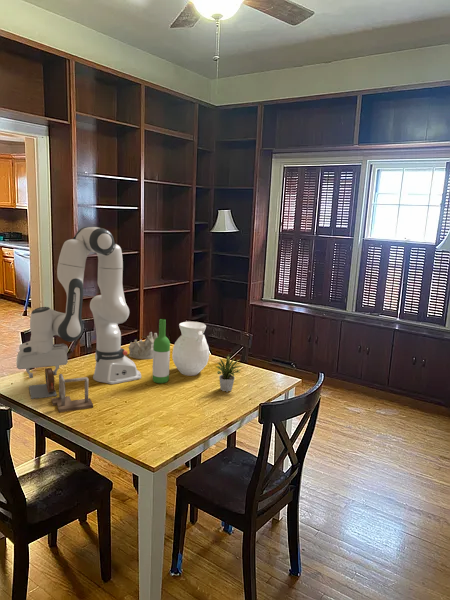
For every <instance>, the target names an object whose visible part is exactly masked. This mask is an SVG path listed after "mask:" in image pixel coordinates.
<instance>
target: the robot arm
mask: <svg viewBox="0 0 450 600" xmlns="http://www.w3.org/2000/svg"><path fill="white" fill-rule="evenodd" d="M91 253H96V256H97V286H98V287H99V290H100V294H99V295H95V296H93V298H92V299H91V300H90V302H89V309H90V311H91V314H92V317H93V322H94V327H95V331H96V332H95V333H96V348H95V354H94V357H95V358H94V359H95V367H94V373H93V376H92V379H93V380H94V381H96V382H99V383H106V384H110V385H115V384H121V383H127V382H130V381H131V382H132V381H137V380H141V378H142V373H141V371H140V370H138V369H137V366H136V363H135V362H134V361H133V360H132V359H130V358H129V356H127V355H128V354H129V353H128V351H127V350H126V349H124V348H123V347H122V345H121V344H122V333H121V330H120V327H119V326H118V325H119V324H123V323H125V322H126V321H127V319H128V318H129V316H130V308H129V306H128V305H127V303H126V298H125V293H124V292H125V291H124V286H123V273H124V272H123V271H124V261H123V260H124V259H123V251H122V248H121V246H120V245H119V244H117V243H116V242H115V239H114V235H113V234H112V233H111V231H109V230H108V229H106V228H103V227H98V226H84V227H82V228H80V229H78V231H77V232H76V233H75V235H74V236H73V238H71V239H67V240H65V241H64V243H63V244H62V247H61V250H60V253H59V257H58V261H57V262H58V263H57V268H56V270H57V271H56V272H57V273H56V275H57V276H56V277H57V280H58V281H59V283H60V284H61V286H62V287H63V289H64V291H65V293H66V303H65V312H60V311H56V310H55V309H52V308H50V307H49V306H42V307H41V306H40V307H37V308H35V309H33V310H32V311H31V313H30V319H29V329H30V330H29V331H30V333H31V335H30V340H29V341H26V342H24V343H20V344H19V345H18V346H19V347H18V348H19V350H18V352H17V356H16V368H17V369H18V370H25V371H26V373H27V374H28V378H29V379H33V378H34V373H33V372H30V369H37V368H49V367H55V368H54V370H52V371H53V374H54V376H57V375H58V374H57V371H58V370H59V369H60V366H64V365H65V366H66V365H67V364H68V362H69V361H68V354H67V353H68V351H69V348H68V345H67V344H65V343H55V344H54V336H58V337H59V338H61V339H62V340H63V341H65V342H68V343H69V342H71V343H72V342H75V341H77V340H78V339H80V338H81V336H82V335H83V333H84V323H83V319H82V313H83V300H84V277H85V269H86V262H87V258H88V256H89V254H91Z"/></svg>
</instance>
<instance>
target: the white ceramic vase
mask: <svg viewBox="0 0 450 600" xmlns="http://www.w3.org/2000/svg"><path fill="white" fill-rule="evenodd" d="M178 326H179V329H180V332H181V335H180V336H179V337H178V338H177V339H176V341H175V342H174V345H173V348H172V354H171V355H172V361H173V363H174V365H175V368H176V369H177V370H178V372H180V374H181V375H184V376H197V375H198V374H199V373H200V372H201V371H202V370H204V368H205V367H206V366H207V365H208V363H209V359H210V348H209V344H208V342H207V339H206V336H205V334H204V333H205V331H206V328H207V325H206V324H205V323H204V322H199V321H183V322H180V323H179V324H178Z"/></svg>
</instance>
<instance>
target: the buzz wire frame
mask: <svg viewBox="0 0 450 600" xmlns="http://www.w3.org/2000/svg"><path fill="white" fill-rule="evenodd" d="M63 375H64V374H62V373H59V374H58V396H57V397H51V404H52V406H53V407H55V406H56V407H57V410H58V412H59V413H63V412H65V411H66V412H71V411H79V410H87V409H92V408H94V404H93V402H92V399H91V398H89V378H88V377H87V376H85V377H84V376H83V377H77V378H67V379H64V376H63ZM81 381H84V398H81V399H75V400H74V399H73V400H72V399H71V396H70V395H68V396H66V383H72V382H73V383H74V382H81ZM54 405H55V406H54Z"/></svg>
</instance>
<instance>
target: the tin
mask: <svg viewBox="0 0 450 600" xmlns="http://www.w3.org/2000/svg"><path fill="white" fill-rule="evenodd" d="M44 368H45V370H44V371H45V372H44V376H45V384H46V386H47V389H48V393H51V392H55V391H56V385H55V375H54V374H53V371H54V370H53V368H51V367H44Z"/></svg>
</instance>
